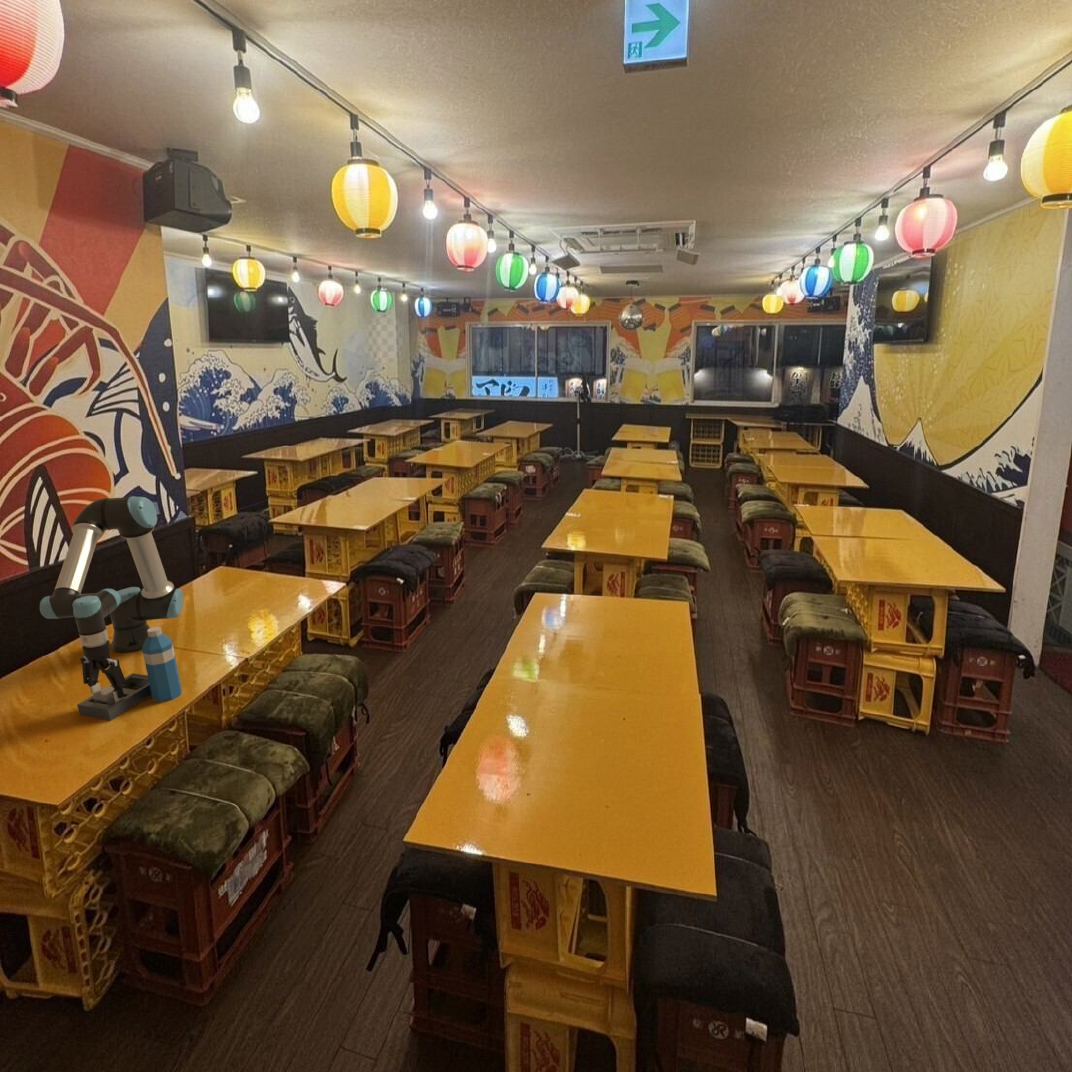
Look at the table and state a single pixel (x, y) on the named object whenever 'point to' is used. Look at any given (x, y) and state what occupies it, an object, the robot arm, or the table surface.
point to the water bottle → (161, 666)
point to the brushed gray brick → (105, 696)
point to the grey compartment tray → (121, 706)
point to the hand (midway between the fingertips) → (110, 704)
